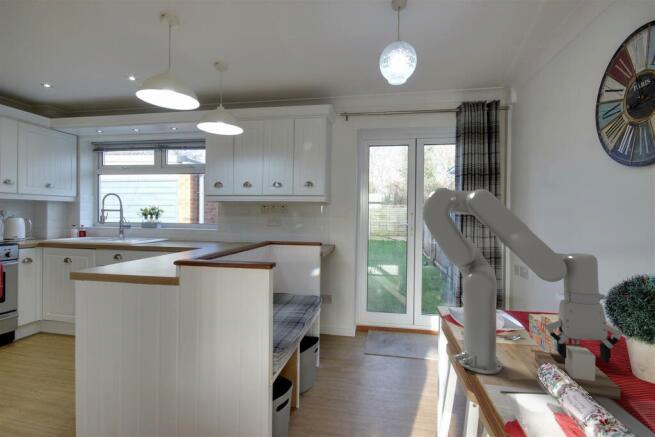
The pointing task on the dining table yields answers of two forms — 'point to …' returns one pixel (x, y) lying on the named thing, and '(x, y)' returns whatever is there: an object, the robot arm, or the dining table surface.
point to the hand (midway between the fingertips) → (583, 358)
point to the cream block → (580, 363)
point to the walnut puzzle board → (596, 388)
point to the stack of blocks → (542, 335)
